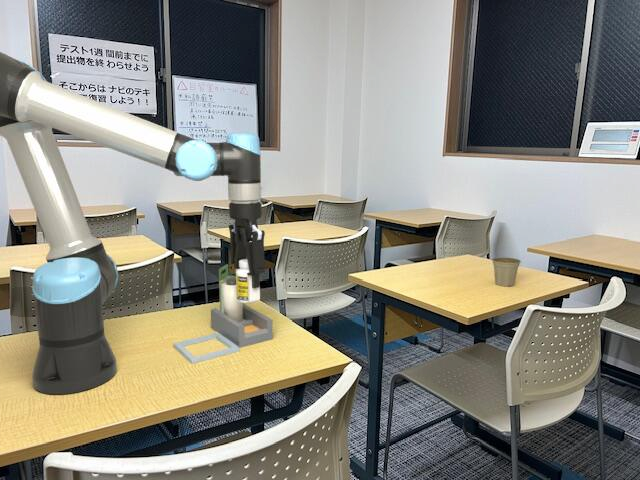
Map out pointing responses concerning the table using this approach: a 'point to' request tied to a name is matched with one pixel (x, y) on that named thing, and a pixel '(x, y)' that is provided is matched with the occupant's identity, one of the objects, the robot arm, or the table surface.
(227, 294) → the white thermos bottle
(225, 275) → the ink box
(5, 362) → the table surface
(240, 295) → the supplement bottle
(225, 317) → the grey cubby shelf
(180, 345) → the grey square frame
